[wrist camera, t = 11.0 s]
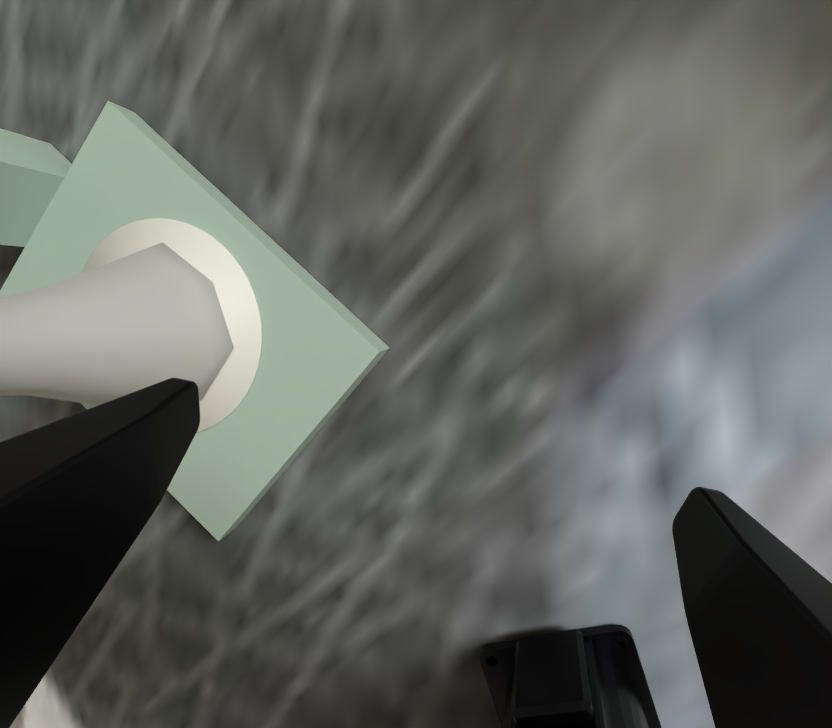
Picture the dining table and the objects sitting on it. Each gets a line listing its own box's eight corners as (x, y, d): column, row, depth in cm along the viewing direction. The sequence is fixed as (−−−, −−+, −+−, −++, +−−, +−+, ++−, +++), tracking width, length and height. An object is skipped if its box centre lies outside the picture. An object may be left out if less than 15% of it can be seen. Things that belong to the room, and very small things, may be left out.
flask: (152, 439, 24) (-114, 541, 14) (65, 310, 24) (-257, 323, 14) (264, 352, 22) (45, 401, 12) (169, 212, 22) (-122, 149, 12)
